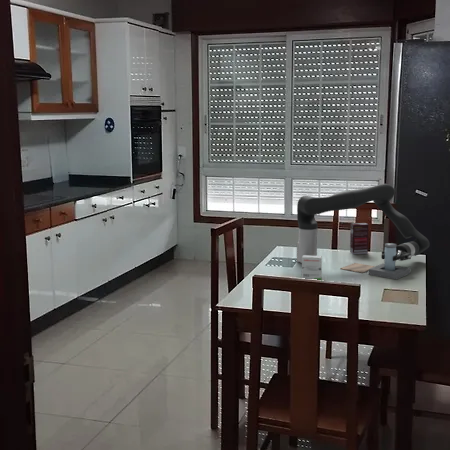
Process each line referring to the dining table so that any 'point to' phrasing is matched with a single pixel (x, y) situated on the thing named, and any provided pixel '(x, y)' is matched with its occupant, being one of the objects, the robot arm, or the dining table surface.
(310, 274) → the ink box
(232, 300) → the dining table surface
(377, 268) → the frame
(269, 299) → the dining table surface
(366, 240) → the supplement box
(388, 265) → the cylinder
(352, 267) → the pad
